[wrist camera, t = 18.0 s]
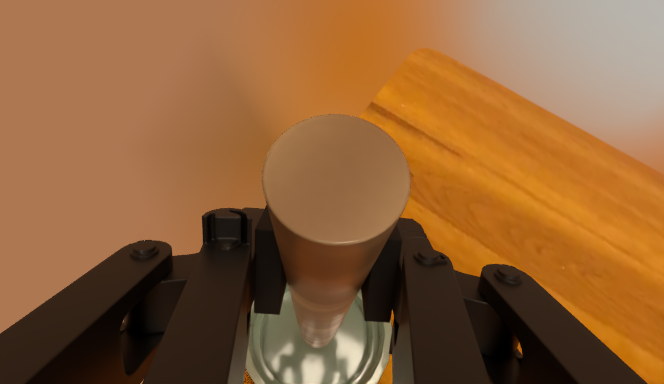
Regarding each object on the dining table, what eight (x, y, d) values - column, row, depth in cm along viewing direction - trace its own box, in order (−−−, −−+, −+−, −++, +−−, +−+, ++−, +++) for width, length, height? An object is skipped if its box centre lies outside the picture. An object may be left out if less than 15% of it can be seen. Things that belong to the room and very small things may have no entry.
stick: (293, 335, 28) (229, 193, 6) (312, 304, 29) (314, 91, 7) (323, 355, 27) (365, 276, 6) (341, 323, 28) (436, 155, 7)
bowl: (225, 358, 32) (207, 355, 27) (298, 251, 37) (296, 229, 31) (337, 439, 30) (343, 453, 25) (400, 315, 35) (417, 303, 29)
